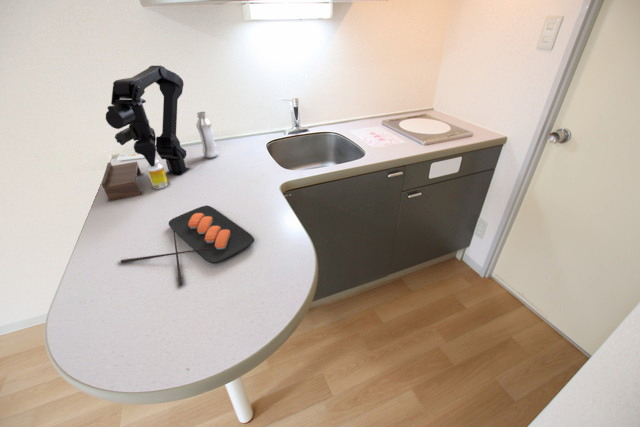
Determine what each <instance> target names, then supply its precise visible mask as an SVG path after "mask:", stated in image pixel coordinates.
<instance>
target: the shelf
mask: <svg viewBox="0 0 640 427" xmlns="http://www.w3.org/2000/svg"><path fill="white" fill-rule="evenodd" d="M142 175H143V174H142V171H141V168H140V166H139V162H138V161H133V162H127V163H126V162H125V163H121V164H114V165H113V164H112V162H111V161H110V162H107V164H106V168H105V171H104V174H103V177H102V181H101V186H102V188H103V190H104V192H105V195H106V197H107V199H108V201H109V202H111V201H116V200H120V199H125V198H131V197H136V196H140V195H141V191H140V189H139V186H138V183H137V180H138V177H139V176H142Z"/></svg>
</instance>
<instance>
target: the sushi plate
mask: <svg viewBox="0 0 640 427" xmlns="http://www.w3.org/2000/svg"><path fill="white" fill-rule="evenodd" d="M168 226H169V227H170V229H171V230H172V232H173V240H174V248H175V252H170V253H163V254H156V255H155V254H154V255H148V256H147V255H146V256H140V257H134V258H127V259H126V258H125V259H121V260H120V263H121V264H124V263H130V262H131V263H132V262H137V261H145V260H149V259H155V258H161V257H169V256H174V255H175V259H176V268H177V278H178V284H179V286H183V280H182V272H181V266H180V260H179V255H180V254H187V253H193V252H196V254H197V255H199V256H200V257H201V258H202V259H203V260H204V261H206V262H208V263H210V264H218V263H220V262H223V261H225V260H227V259H229V258H230V257H232V256H234V255H236V254H238V253H239V252H242V251H243V250H245V249H247V248H249V247H250V246H252V245H253V243H254V242H255V237H254V236H253V235H252V234H251V233H249V232H248V231H247V230H245V229H244V228H242V226H240V225H239V224H237V223H235V222H234V221H233V220H231V218H229V217H227V216H226V215H224V214H223V213H222V212H220V211H219V210H217V208H215V207H212V206H211V205H203V206H199V207H196V208H194V209H192V210H189V211H187V212H185V213H182V214H180V215H178V216H175V217H173V218H172V219H170V220H169V221H168ZM176 235H178V236H179V237H180V238H181V239H182V240H183V241H184V243H186V244H187V245H188V246H189V247H190V248H191V250H185V251H178V246H177V238H176Z"/></svg>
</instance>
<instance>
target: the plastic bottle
mask: <svg viewBox="0 0 640 427" xmlns="http://www.w3.org/2000/svg"><path fill="white" fill-rule="evenodd" d="M196 116H197V121H196V129H197V131H198V132H197V133H198V134H199V138H200V140H201V146H202V153H203V156H204V157H205V158H215V157H217V156H218V154H219V150H218V147H217V145H216V142H215V139H214V133H213V124H212V122H211V121H210V120H209V119H208V118H207V117H208V115H207V112H206V111H198V112H196Z"/></svg>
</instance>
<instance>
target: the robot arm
mask: <svg viewBox="0 0 640 427" xmlns="http://www.w3.org/2000/svg"><path fill="white" fill-rule="evenodd" d="M154 83H155V84H157V85H158V86H159V87H158V88H159V91H160V92H161V94H162V96H163V104H162V106H163V107H162V126H161V127H162V132H161V134H160V135H159V136H156V131H155V129H154V128H153V127H152V126H151V125H150V119H148V116H147V113H146V110H145V108H144V104H145V103H147V101H146V99H144V98H142V96H144V94H145V93H146V91H145V89H147V88H148V87H150V86H151V85H153V84H154ZM184 85H185V84H184V81H183V79H182V77H181V76H180V75H179V74H177V73H176V72H173V71H171V70H170V69H167V68H166V67H165V66H163V65H150V66H148V67H147V68H146V69H144V70H143V71H141V72H139V73H138V74H135V75H134V76H132V77H126V78H120V79H116V80H114V81H113V83H112V91H111V92H112V93H111V102H110V104H111V105H108V106H107V108H106V109H107V111H106V113H105V120H106V123H107V124H108V125H109V126H110V127H111V128H112V129H113V128H114V129H116V130H120V129H122V128H124V127H127V126H128V127H127V128H124V129H123V130H120V131H119V132H117V133H116V134H115V136H114V139H115V140H116V143H117V144H118V143H119V144H120V145H121V146H124V145H125V144H126V143H129V142H130V141H132V140H133V141H134V143H133V150H134V153H136V154H138V155H142V156H143V157H144V159H145V160H146V161H147V162H148V163H149V164H150V166H151V167H153V166H154V165H155V159H156V153H157V154H158V156H159V158H160V159H161V160H165V163H166V166H167V170H168V171H167V172H166V175H167V174H168V175H175V176H182V174H184V173H185V172H187V171H189V170H190V167H187V165H186V161H185V159H186V157H187V150H186V149H184V148H183V147H182V146H181V141H180V140H179V138H178V136H177V120H178V99H179V98H180V97H181V96H182V94H183V90H184Z"/></svg>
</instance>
